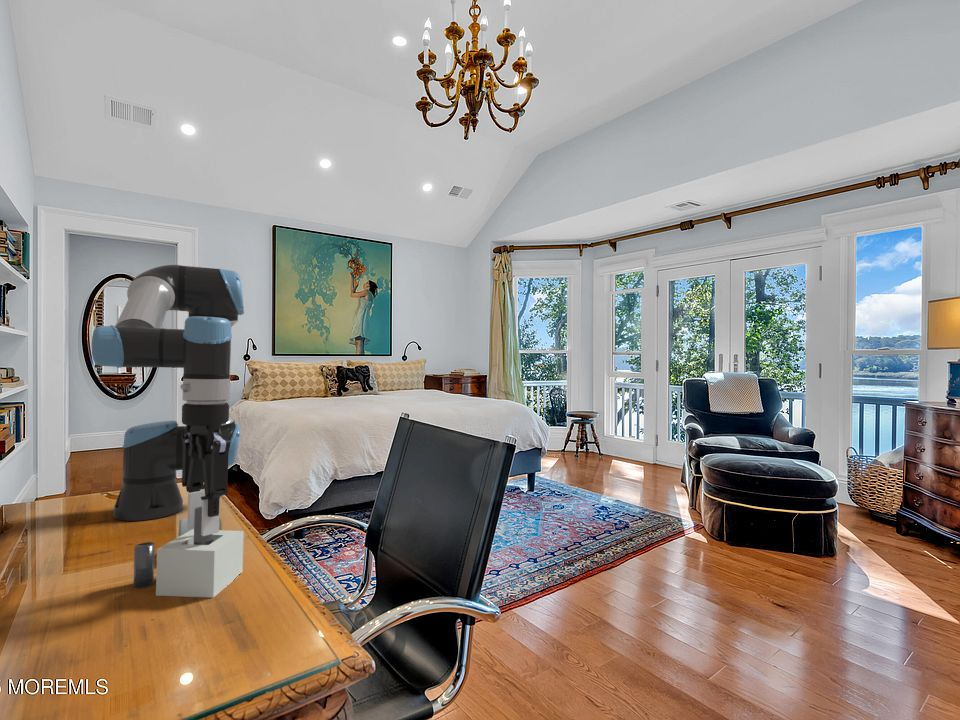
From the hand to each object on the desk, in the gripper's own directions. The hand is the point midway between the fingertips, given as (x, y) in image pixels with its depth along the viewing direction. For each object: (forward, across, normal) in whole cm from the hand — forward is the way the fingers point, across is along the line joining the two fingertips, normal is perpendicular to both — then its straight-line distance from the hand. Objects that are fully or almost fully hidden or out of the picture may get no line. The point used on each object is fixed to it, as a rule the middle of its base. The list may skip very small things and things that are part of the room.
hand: (202, 530), depth 90 cm
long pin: (+10, 0, 0) cm, 10 cm away
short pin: (+10, -8, -7) cm, 14 cm away
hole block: (+10, 0, 0) cm, 10 cm away
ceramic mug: (+10, -16, +6) cm, 20 cm away
